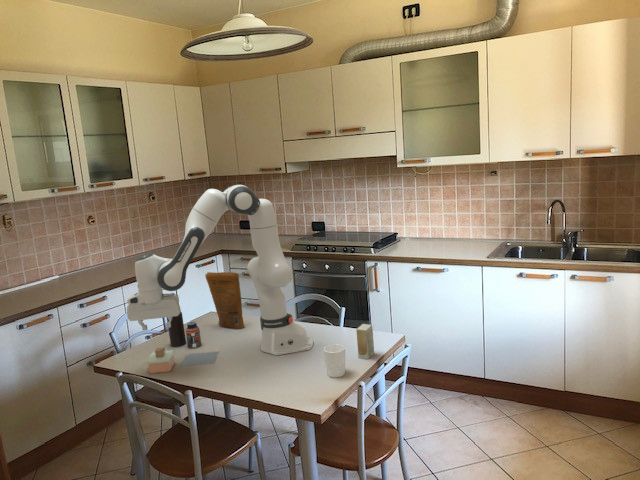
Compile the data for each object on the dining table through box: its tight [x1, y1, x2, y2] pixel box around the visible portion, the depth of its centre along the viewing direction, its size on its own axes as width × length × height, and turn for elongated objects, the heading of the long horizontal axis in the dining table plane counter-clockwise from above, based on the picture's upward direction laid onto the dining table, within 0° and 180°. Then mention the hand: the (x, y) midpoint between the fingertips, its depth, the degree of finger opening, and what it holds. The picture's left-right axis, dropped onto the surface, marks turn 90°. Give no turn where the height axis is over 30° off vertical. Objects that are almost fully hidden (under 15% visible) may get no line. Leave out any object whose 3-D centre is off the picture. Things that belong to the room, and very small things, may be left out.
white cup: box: [323, 343, 346, 378], centre depth 194 cm, size 8×8×10 cm
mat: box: [179, 350, 220, 368], centre depth 218 cm, size 14×12×1 cm
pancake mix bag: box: [204, 271, 246, 330], centre depth 252 cm, size 7×19×28 cm, turn 59°
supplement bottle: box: [185, 321, 202, 349], centre depth 231 cm, size 6×6×11 cm
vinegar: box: [166, 311, 187, 348], centre depth 234 cm, size 7×7×20 cm
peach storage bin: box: [147, 354, 176, 375], centre depth 211 cm, size 8×8×5 cm
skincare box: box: [355, 323, 375, 360], centre depth 207 cm, size 6×4×12 cm
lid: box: [145, 346, 176, 365], centre depth 210 cm, size 9×9×4 cm
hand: (157, 328), depth 208 cm, fingers open, 8 cm apart
